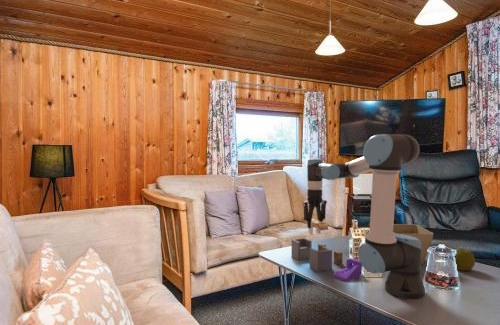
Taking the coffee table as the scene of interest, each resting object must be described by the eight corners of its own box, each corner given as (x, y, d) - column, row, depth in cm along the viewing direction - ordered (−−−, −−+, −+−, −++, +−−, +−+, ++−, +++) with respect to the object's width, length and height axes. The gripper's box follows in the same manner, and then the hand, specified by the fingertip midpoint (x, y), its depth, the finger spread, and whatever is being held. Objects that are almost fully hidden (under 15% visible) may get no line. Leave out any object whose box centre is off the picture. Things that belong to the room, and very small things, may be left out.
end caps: (331, 269, 167) (332, 249, 167) (317, 271, 164) (317, 252, 163) (304, 254, 189) (304, 237, 189) (291, 256, 186) (291, 239, 185)
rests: (342, 263, 174) (342, 252, 174) (337, 264, 173) (337, 253, 173) (322, 254, 190) (322, 243, 189) (318, 254, 188) (318, 244, 188)
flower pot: (433, 266, 169) (434, 233, 168) (394, 266, 170) (395, 233, 169) (415, 254, 188) (416, 224, 187) (380, 254, 189) (381, 224, 188)
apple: (470, 275, 158) (470, 251, 158) (447, 269, 166) (448, 247, 165) (477, 270, 165) (478, 247, 164) (455, 264, 172) (456, 243, 172)
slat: (328, 229, 169) (328, 224, 169) (321, 230, 168) (321, 225, 168) (308, 221, 186) (308, 217, 186) (302, 222, 184) (302, 217, 184)
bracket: (348, 271, 165) (349, 257, 165) (361, 275, 160) (361, 261, 159) (333, 277, 157) (333, 263, 157) (346, 282, 152) (346, 267, 152)
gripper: (324, 187, 182) (324, 230, 184) (296, 188, 176) (296, 233, 177) (333, 188, 175) (332, 233, 177) (304, 190, 169) (304, 237, 170)
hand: (314, 233), depth 177 cm, fingers closed on slat, 4 cm apart
